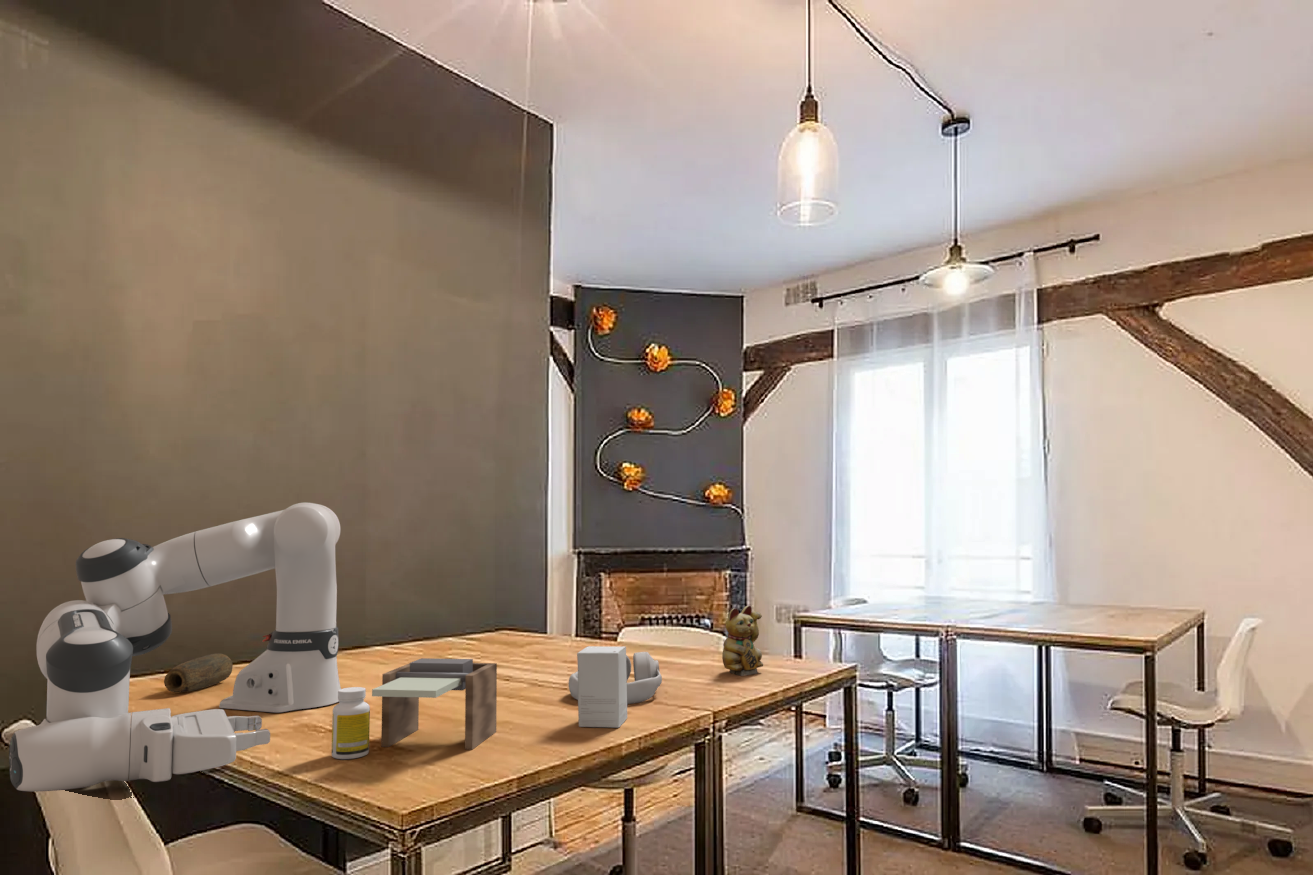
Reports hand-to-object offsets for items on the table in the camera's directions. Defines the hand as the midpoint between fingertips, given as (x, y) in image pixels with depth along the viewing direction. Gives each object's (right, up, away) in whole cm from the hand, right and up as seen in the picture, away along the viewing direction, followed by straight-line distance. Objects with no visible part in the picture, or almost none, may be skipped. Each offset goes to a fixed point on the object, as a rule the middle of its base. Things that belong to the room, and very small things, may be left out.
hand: (265, 728), depth 124 cm
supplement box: (+48, -7, +24) cm, 54 cm away
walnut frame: (+22, -7, +15) cm, 27 cm away
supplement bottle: (+10, -6, +6) cm, 13 cm away
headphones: (+49, -10, +47) cm, 69 cm away
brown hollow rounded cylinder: (-41, -12, +59) cm, 73 cm away
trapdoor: (+21, +2, +10) cm, 23 cm away
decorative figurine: (+76, -11, +69) cm, 103 cm away
